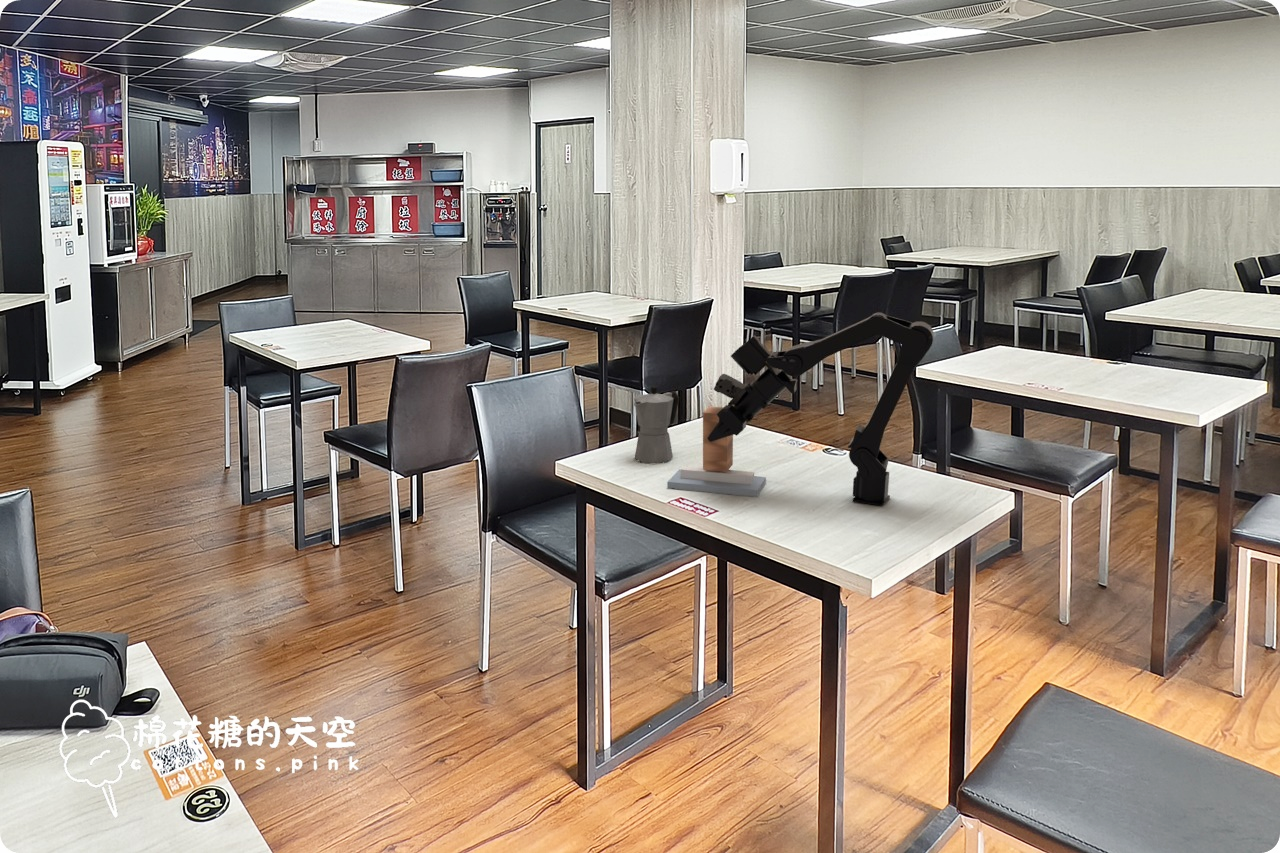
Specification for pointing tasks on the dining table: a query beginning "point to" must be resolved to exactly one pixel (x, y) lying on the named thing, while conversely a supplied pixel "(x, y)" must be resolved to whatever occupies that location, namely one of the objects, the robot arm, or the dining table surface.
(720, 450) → the cherry block
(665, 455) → the coffeepot
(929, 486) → the dining table surface
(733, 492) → the ridge board
